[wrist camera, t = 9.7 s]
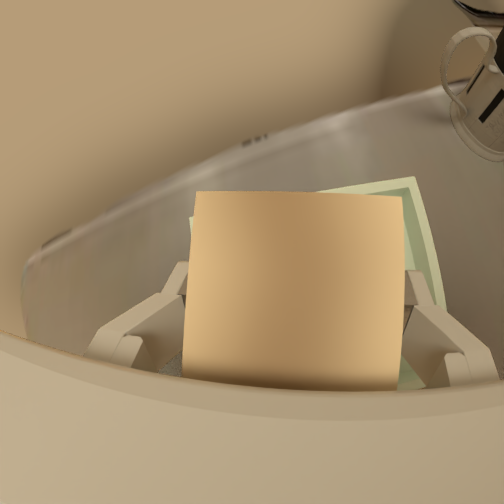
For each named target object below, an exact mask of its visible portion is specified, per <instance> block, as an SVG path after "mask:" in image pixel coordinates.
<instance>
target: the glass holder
mask: <svg viewBox="0 0 504 504" xmlns="http://www.w3.org/2000/svg"><path fill="white" fill-rule="evenodd" d="M478 35H481V36H486V37H488V38H489V40H490V44H489V48H488V51H487V53H486V54H485V56H484V58H483V60H482V61H481V63H480V64H479V66H478V68H477V69H476V71H475V73H474V74H473V76H472V78H471V79H470V81H469V82H468V84H467V86H466V87H465V89H464V90H463V92H462V93H460V94H458V95H456V96H455V95H454V94H453V93H452V92H451V90H450V89H449V87H448V84H447V76H446V74H447V68H448V64H449V61H450V58H451V56H452V53H453V52H454V50H455V49H456V47H457V46H458V44H459V43H460V42H462V41H463V40H464V39H466V38H469V37H471V36H478ZM440 73H441V81H442V86H443V88H444V90H445V91H446V92H447V94H448V95H449V96H450V97H451V98H452V99H453V100H452V102H451V105H450V115H451V120H452V123H453V125H454V127H455V129H456V131H457V133H458V135H459V136H460V138H461V139H462V140H463V141H464V143H465V144H466V145H467V146H468V147H469V148H470V149H471V150H473V151H474V152H475V153H476V154H478V155H479V156H481V157H483V158H485V159H487V160H490V161H495V162H500V161H504V27H503V29H502V30H501V32H500V34H499V36H498V38H497V39H496V40H495V39H494V37H493V36H492V35H491V33H490V32H489V31H487V30H486V29H484V28H480V27H471V28H466V29H463V30H461V31H459V32H458V33H456V34H455V35H454V36H453V37H452V38H451V39H450V41H449V43H448V44H447V46H446V48H445V51H444V53H443V56H442V59H441V66H440Z"/></svg>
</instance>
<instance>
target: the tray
mask: <svg viewBox="0 0 504 504" xmlns="http://www.w3.org/2000/svg"><path fill="white" fill-rule="evenodd" d="M319 192H320V193H345V194H365V195H382V196H397V197H402V204H403V220H404V248H405V270H421V271H422V273H423V275H424V278H425V280H426V283H427V285H428V288H429V291H430V294H431V296H432V299H433V302H434V305H439V306H440V307H441V308H443V309H444V310H445V311H446V312H447V307H446V301H445V295H444V289H443V284H442V279H441V274H440V269H439V264H438V259H437V255H436V251H435V246H434V242H433V238H432V234H431V230H430V226H429V223H428V219H427V215H426V212H425V208H424V205H423V202H422V198H421V195H420V192H419V188H418V185H417V182H416V179H415V176H413V177H406V178H399V179H393V180H386V181H379V182H373V183H367V184H360V185H354V186H348V187H342V188H336V189H330V190H325V191H319ZM193 218H194V216H193V217H189V220H190V229H191V237H192V227H193ZM423 387H426V386H425V384H424V383H423V382H422V380H421V379H420V378H419V376H418V375H417V374H416V372H415V371H414V370H413V369H412V367H411V366H410V365H409V363H408V362H407V361H406V359H405V358H404V357H403V356H402V354H401V359H400V368H399V377H398V386H397V391H400V390H417V389H420V388H423Z"/></svg>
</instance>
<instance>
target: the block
mask: <svg viewBox="0 0 504 504" xmlns="http://www.w3.org/2000/svg"><path fill="white" fill-rule="evenodd" d="M404 290H405V248H404V220H403V204H402V197H397V196H382V195H365V194H345V193H320V192H281V191H200V192H196V200H195V209H194V218H193V227H192V237H191V247H190V257H189V269H188V280H187V293H186V307H185V321H184V338H183V357H182V377H183V378H189V379H195V380H202V381H209V382H217V383H225V384H233V385H242V386H252V387H263V388H275V389H289V390H308V391H344V392H364V391H397V386H398V377H399V368H400V359H401V347H402V334H403V317H404Z"/></svg>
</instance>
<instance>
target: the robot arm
mask: <svg viewBox="0 0 504 504" xmlns="http://www.w3.org/2000/svg"><path fill="white" fill-rule="evenodd" d="M188 269H189V261H179V262H178V263H177V264H176V266H175V268H174V270H173V271H172V273H171V275H170V277H169V279H168V281H167V282H166V284H165V286H164V288H163V290H162V292H161V293H156V294H154V295H152V296H151V297H149V298H147V299H146V300H144V301H143V302H141V303H139V304H138V305H136V306H134V307H133V308H131V309H130V310H128V311H126V312H125V313H123V314H122V315H120V316H118V317H117V318H115V319H114V320H112V321H110V322H109V323H107V324H106V325H104V326H102V327H101V328H99V330H98V331H97V333H96V335H95V336H94V338H93V340H92V341H91V343H90V345H89V346H88V348H87V350H86V352H85V353H84V355H83V356H80V355H77V354H73V353H69V352H66V351H62V350H59V349H56V348H52V347H49V346H46V345H43V344H40V343H36V342H33V341H30V340H27V339H24V338H21V337H18V336H16V335H13V334H10V333H7V332H4V331H2V330H0V504H504V380H500V379H499V376H498V372H497V369H496V366H495V363H494V360H493V358H492V355H491V352H490V349H489V348H488V347H487V346H486V345H484V344H483V343H482V342H481V341H480V340H479V339H478V338H476V337H475V336H474V335H473V334H472V333H471V332H470V331H468V330H467V329H466V328H465V327H464V326H463V325H462V324H460V323H459V322H458V321H457V320H456V319H454V318H453V317H452V316H451V315H450V314H449V313H447V312H446V311H445V310H444V309H443V308H441V307H440V306H439V305H434V302H433V299H432V296H431V294H430V291H429V288H428V285H427V283H426V280H425V278H424V275H423V273H422V271H421V270H405V290H404V317H403V334H402V347H401V354H402V356H403V357H404V358H405V359H406V361H407V362H408V363H409V365H410V366H411V367H412V369H413V370H414V371H415V372H416V374H417V375H418V376H419V378H420V379H421V380H422V382H423V383H424V384H425V386H426V388H425V389H418V390H400V391H364V392H344V391H308V390H289V389H275V388H263V387H252V386H242V385H233V384H225V383H217V382H209V381H202V380H195V379H189V378H183V377H177V376H171V375H165V374H160V373H158V371H159V370H160V369H161V368H162V367H164V366H165V365H166V364H167V363H168V362H169V361H170V360H171V359H172V358H173V357H175V356H176V355H177V354H178V353H179V352H180V351H181V350H182V349H183V338H184V321H185V307H186V293H187V280H188Z"/></svg>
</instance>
